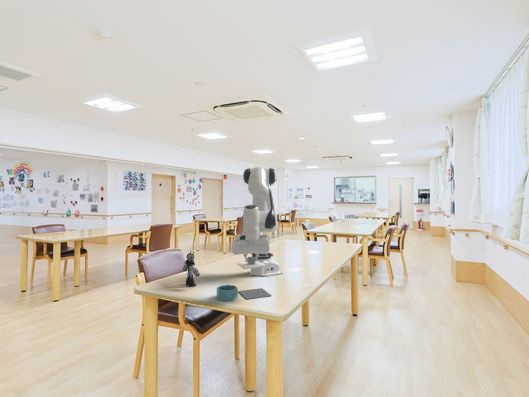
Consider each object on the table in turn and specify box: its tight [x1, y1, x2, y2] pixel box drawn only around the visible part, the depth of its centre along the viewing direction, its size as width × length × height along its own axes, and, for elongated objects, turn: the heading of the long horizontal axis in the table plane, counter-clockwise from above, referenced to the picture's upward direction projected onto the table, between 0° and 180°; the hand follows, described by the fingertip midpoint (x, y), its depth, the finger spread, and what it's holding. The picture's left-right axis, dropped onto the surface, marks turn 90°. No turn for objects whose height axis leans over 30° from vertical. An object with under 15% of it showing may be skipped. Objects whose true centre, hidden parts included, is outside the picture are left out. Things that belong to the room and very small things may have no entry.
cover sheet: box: [236, 256, 266, 270], centre depth 161 cm, size 12×12×4 cm
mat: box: [238, 287, 272, 300], centre depth 162 cm, size 14×14×1 cm
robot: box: [182, 250, 201, 288], centre depth 179 cm, size 20×5×20 cm, turn 38°
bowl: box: [216, 284, 239, 302], centre depth 156 cm, size 10×10×5 cm
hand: (251, 261), depth 161 cm, fingers closed on cover sheet, 3 cm apart
